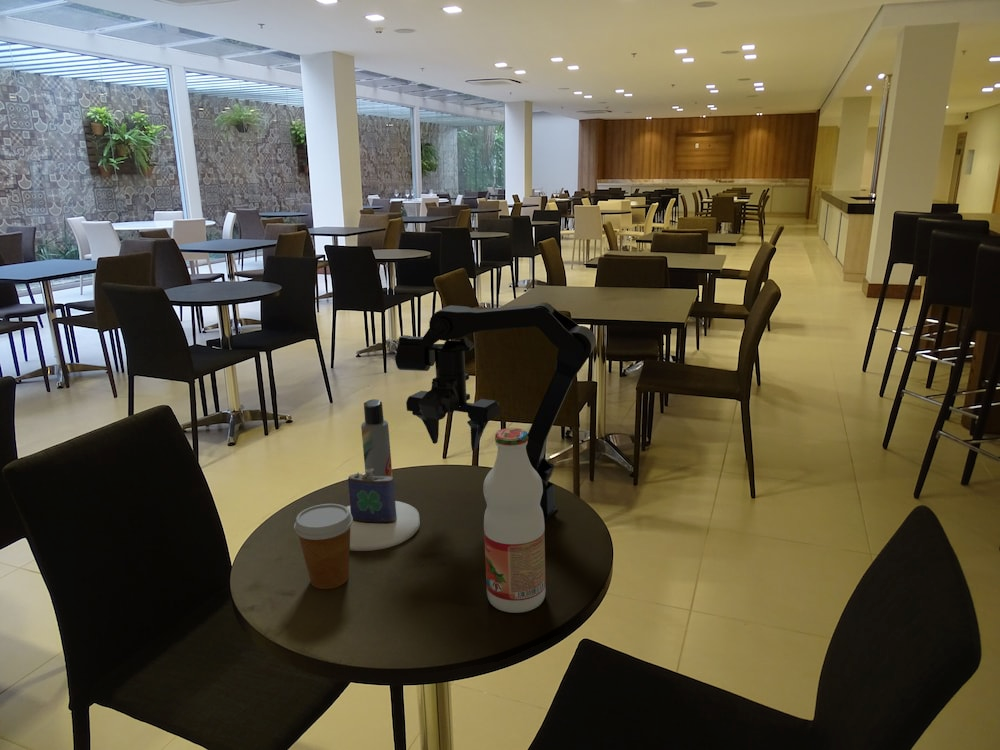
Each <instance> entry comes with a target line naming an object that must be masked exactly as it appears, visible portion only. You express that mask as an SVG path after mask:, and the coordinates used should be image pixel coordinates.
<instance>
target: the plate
mask: <svg viewBox="0 0 1000 750" xmlns="http://www.w3.org/2000/svg"><path fill="white" fill-rule="evenodd" d="M395 503H396V515H397V520H396V519H395V521H396V522H394V523H388V524H384V523H383V524H378V523H363V522H362V523H361V522H355V521H352V524H351V527H350V551H354V552H355V551H356V552H368V551H377V550H378V551H379V550H383V549H387V548H388V549H389V548H391V547H394V546H397V545H400V544H402V543H403V542H406V541H408V540H409V539H410V538H412V537H413V536H414V535H416V533H417V532H418V531H419V529H420V526H421V525H420V524H421V522H420V521H421V519H420V513H419V510H417V508H416V507H414V506H412V505H411V504H409V503H406V502H403V501H398V500H395ZM346 507H347V508H348V510H349V512H350V514H351V510H350V505H347V506H346Z"/></svg>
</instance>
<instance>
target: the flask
mask: <svg viewBox="0 0 1000 750" xmlns="http://www.w3.org/2000/svg"><path fill="white" fill-rule="evenodd" d="M370 469H371V470H370ZM370 469H366V470H365V469H364V473H365V472H366V474H362V473H359V472H357V473H354V474H350V475H349V476H348V478H347V479H348V480H347V483H348V492H349V506H350V510H351V515H352V517H353V521H355V522H361V523H362V522H363V523H378V524H383V523H384V524H388V523H394V522H396V521H395V519H396V520H397V515H396V503H395V501H396V498H395V497H396V496H395V481H394V478H393V476H392V477H391V476H373V471H374V469H372V468H370Z"/></svg>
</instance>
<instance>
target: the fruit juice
mask: <svg viewBox="0 0 1000 750" xmlns="http://www.w3.org/2000/svg"><path fill="white" fill-rule="evenodd" d="M494 441H495V445H496V446H497V453H496V458H495V461H494V464H493V467H492V468H491V469H490V470H489V472H488V473H487V474H486V477H485V478H484V481H483V485H482V486H483V487H482V489H483V496H484V500H485V503H486V508H485V511H484V517H483V535H484V558H485V561H484V562H485V576H486V577H485V578H486V579H485V580H486V581H485V582H486V595H487V599H488V602H489V603H490V605H492V606H493V607H494V608H495V609H497V610H499V611H502V612H505V613H510V614H511V613H512V614H513V613H514V614H515V613H516V614H520V613H526V612H529V611H533V610H535V609H536V608H538V607H540V605H541V604H542V603H543V602H544V600H545V598H546V591H547V589H546V550H545V549H546V545H545V544H546V543H545V541H546V539H545V533H546V531H545V530H546V529H545V521H544V515H543V511H542V508H541V506H540V501H541V497H542V493H543V485H542V480H541V477H540V476H539V474H538V473H537V472H536V470H535V469H534V468H533V467H532V465H531V463H530V461H529V458H528V455H527V451H526V445H527V443H528V432H527V431H526V430H525V429H522V428H517V427H508V428H501V429H499V430H497V431H496V432H495V435H494Z"/></svg>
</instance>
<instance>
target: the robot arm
mask: <svg viewBox="0 0 1000 750" xmlns="http://www.w3.org/2000/svg"><path fill="white" fill-rule="evenodd" d="M428 322H429V325H428V326H429V328H428V329H427V331H426V332H425V334H424V335H423V336H411V335H405V334H404V335H401V336H399V337H398V344H397V348H396V351H395V352H396V353H395V356H394V357H395V358H394V361H395V365H396V368H397V369H398V370H399V371H415V372H416V371H420V372H421V371H422V372H428V371H429V370H431V369H430V368H431V367H433V366H434V365H435V377H434V378H432V380H431V388H430V390H428V391H427V390H420V391H418V392H415V393H414V394H411V395H409V396H408V398H407V399H406V401H405V403H406V404H405V405H406V411H407V412H411V413H412V415H413V416H416V417H417V418H419V419H420V420H421V421H422V423H423V425H424V426H425V428H426V431H427V433H428V435H429V437H430V439H431V442H432V444H434V445H436V444H437V443H438V441H439V434H440V433H439V432H440V431H439V430H440V429H439V425H440V420H443V419H445V417H446V414H453V413H454V412H461V413H467V417H468V419H469V420H468V421H466V422H467V424H468V426H469V427H470V444H471V445H470V446H471V450H472V451H473V452H474V451H476V450H477V448H478V446H479V444H480V443H479V442H480V440H481V439H482V435H483V433H484V431H485V429H486V427H487V425H488V423H489V422H490V421H491V420H494V419H495V418H496V417H498V416H499V415H501V406H500V404H499V402H498V401H497V400H492V399H485V398H480V399H479V400H476V401H475V402H474V403H471V402H467V401H468V400H471V395H470V393H467V383H466V382H467V381H468V380H470V374H469V373H466V364H465V363H466V361H465V359H466V358H465V352H470V351H471V350H472V349H473V348H474V347H475V346H476V345H475V343H474V342H472V341H471V340H470V339H469V338H468V337H467V335H470V334H474V333H477V332H483V331H485V332H486V331H497V330H498V331H499V330H508V329H511V330H512V329H520V328H521V329H522V328H533V327H534V328H537V329H538V330H540V331H541V332H542V334H544V336H545V337H547V339H548V340H549V342H551V344H552V345H553V346H555V347H556V348H557V349H558V351H557V357H556V362H555V367H554V368H555V369H554V373H553V376H552V378H551V379H550V382H549V385H548V387H547V389H546V391H545V394H544V396H543V398H542V401H541V403H540V405H539V407H538V410H537V412H536V414H535V417H534V419H533V421H532V424H531V426H530V428H529V431H528V432H527V434H528V443H527V445H526V451H527V455H528V458H529V461H530V463H531V465H532V467H533V468H534V469H535V470H536V472H537V473H538V474H539V476H540V477H541V480H542V485H543V493H542V497H541V501H540V506H541V508H542V511H543V515H544V522H546V521H547V520H548V519H549V518H550V517H551V516H552V515H553V514H554V513H555V512H556V511H557V510H558V506H557V505H555V504H554V503H555V501H554V499H555V497H554V496H555V495H554V483H553V482H550V481H549V480H550V478H551V477H552V475H553V472H554V469H555V467H554V466H553V464H551V463H550V462H549V461H548V460H547V458H545V453H546V449H547V441H548V436H549V434H550V432H551V429H552V427H553V425H554V423H555V421H556V419H557V416H558V414H559V412H560V410H561V407H562V405H563V403H564V400H565V399H566V396H567V394H568V391H569V389H570V388H571V386H572V383H573V380H574V379H575V377H577V375H578V373H579V372H580V370H581V369H582V368H583V366H584V365H585V363H586V362H587V360H588V359H589V357H590V355H592V352H593V350H594V349H595V347H596V343H597V338H596V336H595V335H596V334H595V333H594V331H593V330H592V329H590V328H589V327H587V326H584V325H579V324H578V323H576V322H575V321H574V320H573V319H572V318H570V317H568V316H567V315H565V314H563V313H562V312H560V311H559V310H557V308H555V307H554V306H553V305H552V304H551V303H548V302H540V303H537V304H525V305H524V304H523V305H514V306H513V305H512V306H503V307H493V308H474V307H470V306H466V305H465V306H463V305H455V304H454V305H448V306H445V307H443V308H440V309H439V310H438V311H436V312H435V313H433V314H432V315H431V317H430V319H429V321H428ZM458 338H460V340H456V339H458ZM438 341H443V342H444V343H438Z"/></svg>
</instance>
